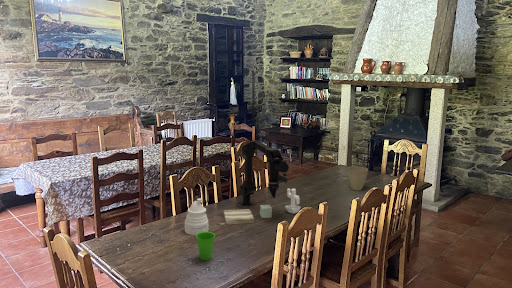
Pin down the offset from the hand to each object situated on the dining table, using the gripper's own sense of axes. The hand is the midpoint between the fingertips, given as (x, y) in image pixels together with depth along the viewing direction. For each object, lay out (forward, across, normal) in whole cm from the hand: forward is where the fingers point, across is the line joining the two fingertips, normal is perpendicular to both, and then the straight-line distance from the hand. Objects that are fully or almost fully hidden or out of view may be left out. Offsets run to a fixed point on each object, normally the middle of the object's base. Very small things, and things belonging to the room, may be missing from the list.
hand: (274, 196), depth 233 cm
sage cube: (+13, +1, +6) cm, 14 cm away
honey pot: (+12, -26, +42) cm, 51 cm away
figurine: (+13, +10, -11) cm, 20 cm away
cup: (+15, -56, +30) cm, 66 cm away
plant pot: (+12, +66, -60) cm, 90 cm away
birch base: (+12, -6, +21) cm, 25 cm away
